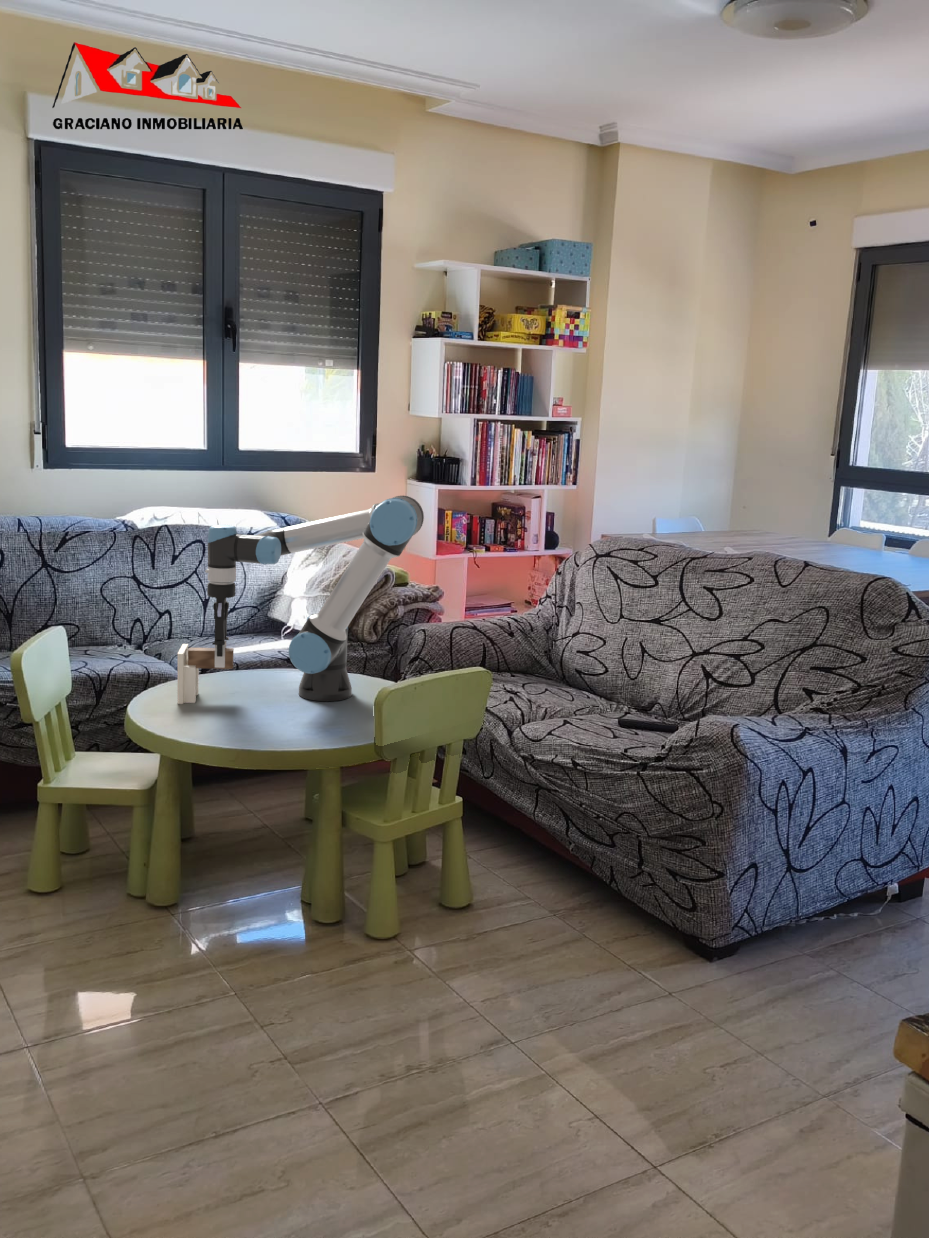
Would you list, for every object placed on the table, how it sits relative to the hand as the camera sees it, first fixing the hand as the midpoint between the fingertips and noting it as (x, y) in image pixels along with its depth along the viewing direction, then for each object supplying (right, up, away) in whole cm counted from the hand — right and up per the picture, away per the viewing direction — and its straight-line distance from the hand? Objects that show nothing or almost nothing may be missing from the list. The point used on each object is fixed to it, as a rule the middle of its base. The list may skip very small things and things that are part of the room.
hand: (220, 665), depth 302 cm
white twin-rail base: (-8, -9, +1) cm, 12 cm away
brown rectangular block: (-3, 0, 0) cm, 3 cm away
